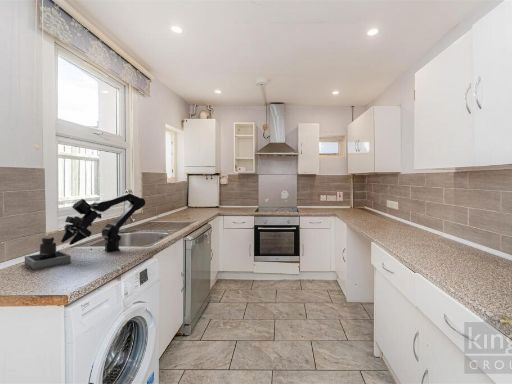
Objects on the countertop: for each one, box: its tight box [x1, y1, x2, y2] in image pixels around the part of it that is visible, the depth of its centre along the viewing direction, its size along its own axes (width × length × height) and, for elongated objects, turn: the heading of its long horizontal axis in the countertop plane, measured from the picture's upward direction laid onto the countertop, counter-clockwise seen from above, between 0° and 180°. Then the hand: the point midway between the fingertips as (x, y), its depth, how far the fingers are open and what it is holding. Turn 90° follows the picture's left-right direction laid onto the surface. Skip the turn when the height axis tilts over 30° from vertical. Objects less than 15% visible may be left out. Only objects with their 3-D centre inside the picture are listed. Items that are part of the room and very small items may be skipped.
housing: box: [24, 250, 72, 271], centre depth 139 cm, size 15×15×4 cm
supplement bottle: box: [39, 236, 57, 260], centre depth 139 cm, size 7×7×12 cm
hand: (65, 243), depth 145 cm, fingers open, 9 cm apart
